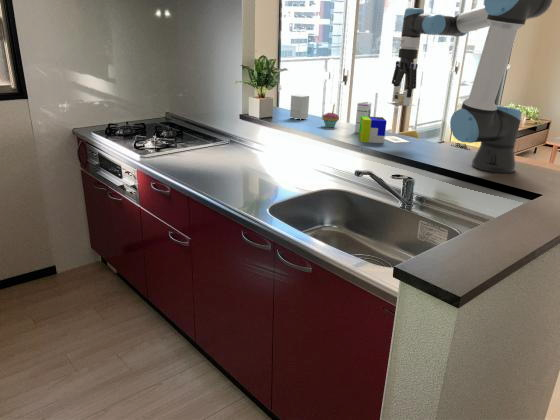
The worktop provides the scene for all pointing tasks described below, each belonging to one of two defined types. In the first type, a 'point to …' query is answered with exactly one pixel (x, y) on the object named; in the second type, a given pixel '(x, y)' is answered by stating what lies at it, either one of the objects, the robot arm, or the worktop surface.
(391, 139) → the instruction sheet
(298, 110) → the supplement box
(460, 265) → the worktop surface
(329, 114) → the cupcake
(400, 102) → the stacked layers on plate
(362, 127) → the puzzle toy
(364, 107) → the syrup box
